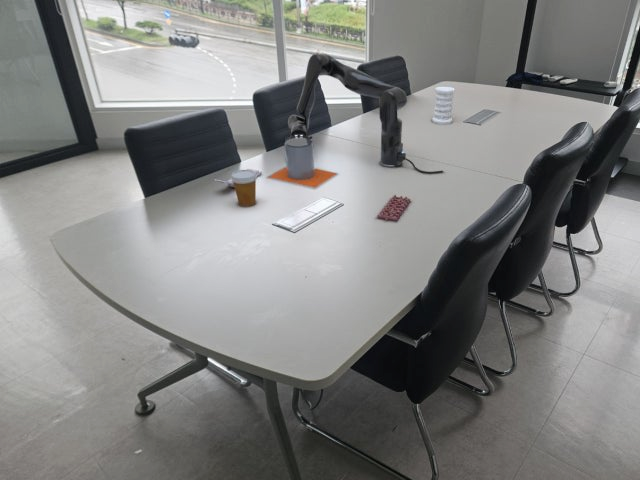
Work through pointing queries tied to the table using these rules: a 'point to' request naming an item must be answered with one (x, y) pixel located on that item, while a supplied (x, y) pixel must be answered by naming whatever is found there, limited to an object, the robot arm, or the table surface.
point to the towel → (312, 182)
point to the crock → (299, 158)
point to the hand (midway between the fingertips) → (299, 145)
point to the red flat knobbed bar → (394, 208)
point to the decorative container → (443, 105)
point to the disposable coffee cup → (245, 186)
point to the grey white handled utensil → (232, 181)
